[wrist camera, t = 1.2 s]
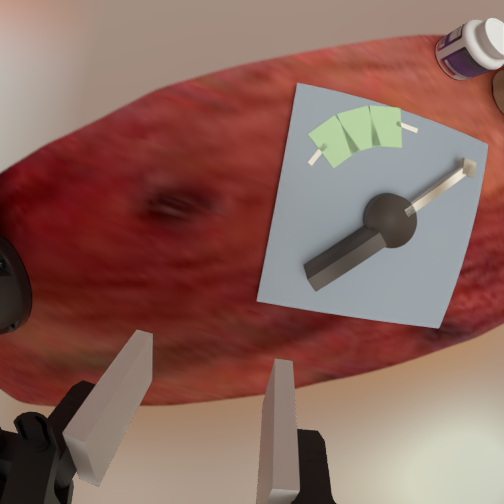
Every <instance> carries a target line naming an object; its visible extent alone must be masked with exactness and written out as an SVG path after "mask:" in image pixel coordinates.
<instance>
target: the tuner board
mask: <svg viewBox="0 0 504 504" xmlns="http://www.w3.org/2000/svg"><path fill="white" fill-rule="evenodd" d="M487 151H488V144H486V143H484V142H482V141H480V140H477V139H475V138H473V137H471V136H468V135H466V134H464V133H461V132H459V131H457V130H454V129H452V128H449V127H447V126H444V125H442V124H439V123H437V122H434V121H431V120H429V119H426V118H423V117H421V116H418V115H415V114H412V113H409V112H406V111H403V110H400V108H394V107H391V106H388V105H385V104H381V103H378V102H375V101H371V100H368V99H364V98H361V97H357V96H353V95H349V94H345V93H341V92H337V91H333V90H329V89H325V88H320V87H316V86H311V85H306V84H301V83H297V86H296V91H295V97H294V102H293V108H292V114H291V119H290V125H289V130H288V136H287V142H286V147H285V153H284V158H283V164H282V169H281V174H280V180H279V185H278V191H277V196H276V201H275V207H274V212H273V217H272V223H271V228H270V233H269V238H268V244H267V249H266V254H265V259H264V264H263V269H262V275H261V280H260V285H259V290H258V295H257V301H259V302H264V303H270V304H276V305H281V306H287V307H293V308H299V309H305V310H311V311H317V312H324V313H330V314H336V315H343V316H350V317H356V318H363V319H370V320H377V321H385V322H392V323H400V324H408V325H416V326H424V327H432V328H439V327H440V325H441V322H442V320H443V317H444V315H445V312H446V310H447V307H448V304H449V302H450V299H451V296H452V293H453V290H454V288H455V285H456V282H457V279H458V276H459V273H460V269H461V266H462V263H463V260H464V256H465V253H466V250H467V246H468V242H469V239H470V235H471V231H472V227H473V223H474V219H475V215H476V211H477V206H478V202H479V197H480V192H481V187H482V182H483V176H484V170H485V164H486V158H487ZM462 158H466V159H468V160H471V161H473V162H476V168H475V174H474V178H471V177H468V176H465V177H463V178H462V179H461V180H459V181H458V182H456V183H455V184H454V185H452V186H451V187H450V188H448V189H447V190H446V191H444V192H443V193H441V194H440V195H439V196H437V197H436V198H435V199H433V200H432V201H430V202H429V203H428V204H426V205H425V206H423V207H422V208H421V209H419V210H418V211H416V214H417V227H416V231H415V233H414V235H413V237H412V238H411V239H410V240H409V241H408V242H407V243H406V244H405V245H403V246H401V247H398V248H385V247H384V248H383V249H381V250H380V251H378V252H377V253H375V254H374V255H372V256H371V257H369V258H368V259H366V260H365V261H363V262H362V263H360V264H359V265H357V266H356V267H354V268H353V269H351V270H350V271H348V272H347V273H345V274H343V275H342V276H340V277H339V278H337V279H336V280H334V281H333V282H331V283H329V284H328V285H326V286H325V287H323V288H321V289H320V290H318V291H317V292H315V291H314V289H313V288H312V286H311V285H310V283H309V282H308V280H307V277H306V273H305V270H304V266H303V265H305V264H306V263H308V262H309V261H311V260H312V259H314V258H315V257H317V256H319V255H320V254H322V253H323V252H325V251H326V250H328V249H329V248H331V247H332V246H334V245H335V244H337V243H338V242H340V241H342V240H343V239H345V238H346V237H348V236H349V235H351V234H352V233H354V232H355V231H357V230H358V229H360V228H361V227H363V226H364V224H363V215H364V211H365V208H366V206H367V204H368V203H369V201H370V200H371V199H372V198H374V197H375V196H377V195H379V194H383V193H392V194H395V195H398V196H401V197H404V198H406V199H407V200H408V201H409V202H410V203H411V202H413V201H414V200H416V199H417V198H419V197H420V196H421V195H423V194H424V193H426V192H427V191H429V190H430V189H431V188H433V187H434V186H436V185H437V184H438V183H440V182H441V181H443V180H444V179H445V178H447V177H448V176H449V175H451V174H452V173H454V172H455V171H456V170H458V169H459V168H460V165H461V159H462Z"/></svg>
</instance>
